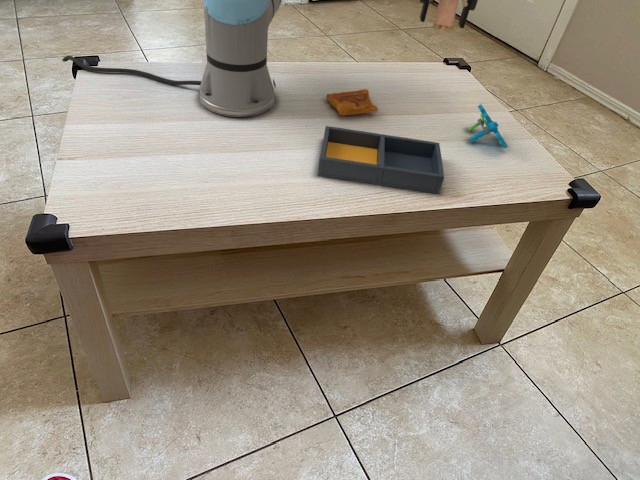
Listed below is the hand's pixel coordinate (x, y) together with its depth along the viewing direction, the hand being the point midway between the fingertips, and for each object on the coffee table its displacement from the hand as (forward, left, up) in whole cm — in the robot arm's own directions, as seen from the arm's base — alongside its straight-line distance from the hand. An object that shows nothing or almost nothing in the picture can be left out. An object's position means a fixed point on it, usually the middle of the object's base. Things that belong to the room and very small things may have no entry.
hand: (441, 22), depth 99 cm
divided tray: (-10, -31, -17) cm, 36 cm away
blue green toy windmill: (+12, -16, -17) cm, 26 cm away
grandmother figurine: (0, 0, -1) cm, 1 cm away
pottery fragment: (-16, -10, -17) cm, 25 cm away
